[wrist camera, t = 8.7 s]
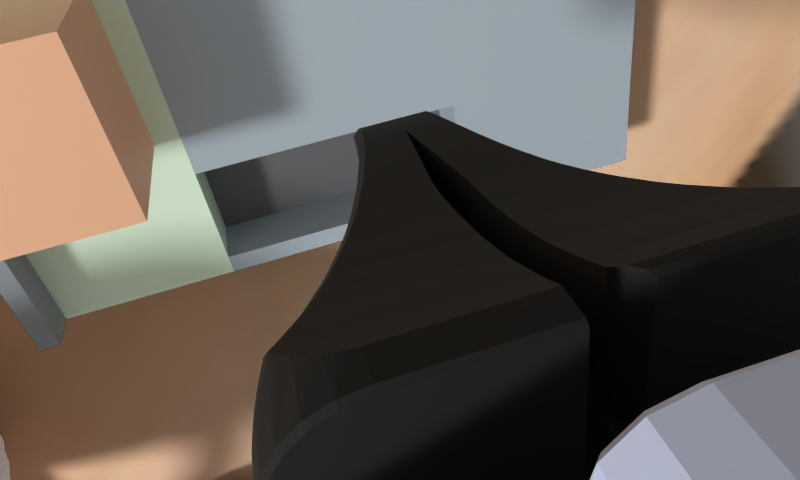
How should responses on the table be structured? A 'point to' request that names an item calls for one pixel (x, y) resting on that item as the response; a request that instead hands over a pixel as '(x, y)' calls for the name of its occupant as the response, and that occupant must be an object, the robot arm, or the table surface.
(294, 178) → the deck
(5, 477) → the mug
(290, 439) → the robot arm
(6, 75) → the block
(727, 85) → the table surface
